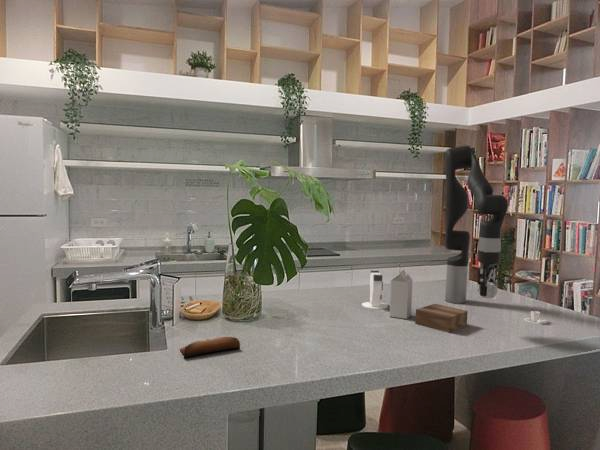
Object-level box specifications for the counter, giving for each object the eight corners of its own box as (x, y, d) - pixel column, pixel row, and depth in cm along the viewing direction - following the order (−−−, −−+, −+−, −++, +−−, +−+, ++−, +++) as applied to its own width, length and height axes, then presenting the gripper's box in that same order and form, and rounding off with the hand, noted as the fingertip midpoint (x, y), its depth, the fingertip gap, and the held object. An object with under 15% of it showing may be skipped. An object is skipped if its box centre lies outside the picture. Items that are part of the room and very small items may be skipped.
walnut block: (434, 318, 183) (434, 303, 182) (466, 326, 173) (467, 311, 172) (415, 324, 173) (415, 309, 173) (448, 333, 163) (449, 317, 163)
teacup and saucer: (550, 326, 175) (550, 316, 175) (528, 324, 177) (528, 314, 176) (542, 319, 184) (543, 310, 183) (521, 318, 185) (522, 308, 185)
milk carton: (389, 316, 182) (391, 270, 180) (394, 312, 188) (396, 268, 187) (406, 319, 179) (408, 272, 177) (411, 315, 185) (413, 269, 183)
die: (485, 298, 162) (486, 285, 162) (476, 295, 167) (477, 282, 166) (497, 297, 163) (497, 284, 163) (487, 294, 168) (488, 281, 168)
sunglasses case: (230, 341, 149) (234, 327, 146) (237, 357, 144) (241, 343, 141) (176, 350, 140) (179, 335, 137) (181, 368, 135) (185, 353, 132)
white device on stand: (390, 309, 192) (391, 275, 191) (363, 309, 193) (364, 274, 191) (385, 302, 204) (386, 270, 203) (360, 302, 205) (361, 269, 203)
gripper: (485, 246, 171) (483, 289, 173) (471, 250, 161) (469, 295, 162) (506, 248, 166) (503, 292, 168) (493, 253, 156) (490, 299, 157)
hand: (486, 294), depth 165 cm, fingers closed on die, 7 cm apart
